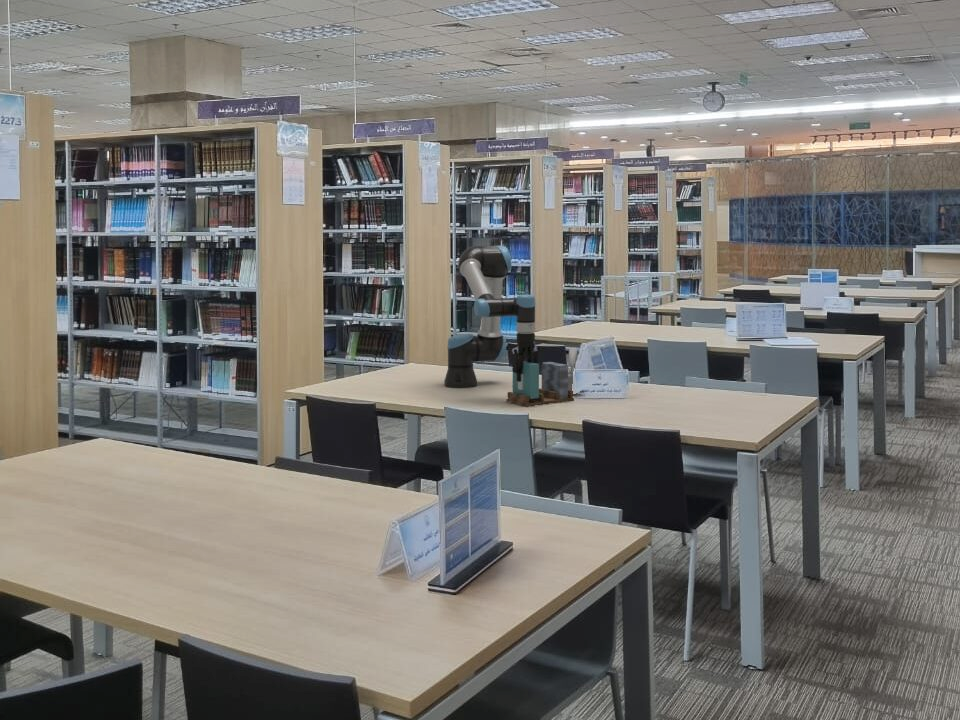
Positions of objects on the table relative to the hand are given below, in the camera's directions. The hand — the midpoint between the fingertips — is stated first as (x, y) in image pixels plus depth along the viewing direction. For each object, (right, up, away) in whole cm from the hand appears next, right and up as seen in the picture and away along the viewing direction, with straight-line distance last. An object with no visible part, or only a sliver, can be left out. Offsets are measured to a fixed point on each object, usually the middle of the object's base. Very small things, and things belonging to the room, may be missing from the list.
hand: (525, 388), depth 405 cm
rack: (+6, -6, +5) cm, 10 cm away
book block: (0, -3, 0) cm, 3 cm away
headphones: (+22, -3, +24) cm, 33 cm away
